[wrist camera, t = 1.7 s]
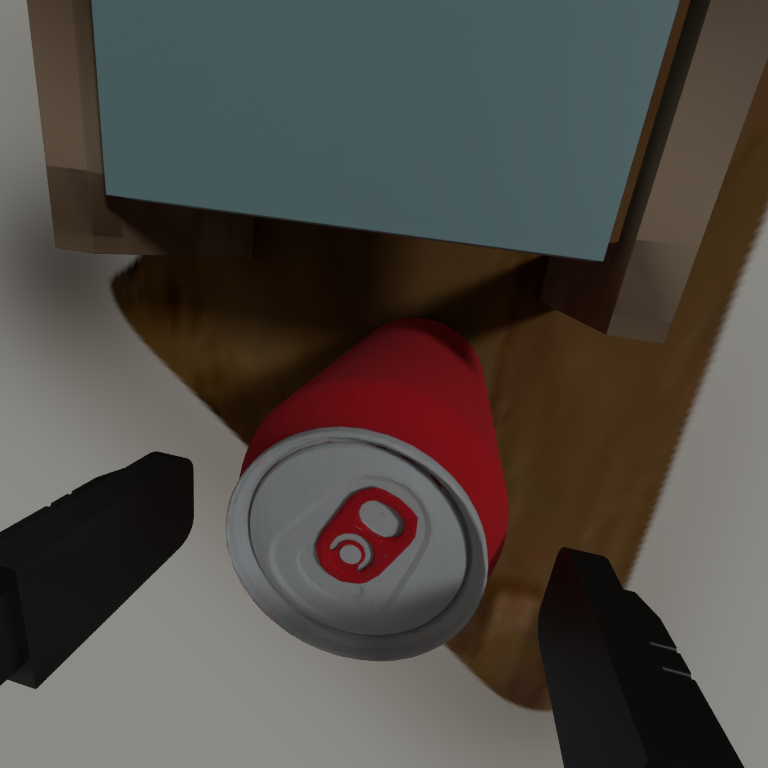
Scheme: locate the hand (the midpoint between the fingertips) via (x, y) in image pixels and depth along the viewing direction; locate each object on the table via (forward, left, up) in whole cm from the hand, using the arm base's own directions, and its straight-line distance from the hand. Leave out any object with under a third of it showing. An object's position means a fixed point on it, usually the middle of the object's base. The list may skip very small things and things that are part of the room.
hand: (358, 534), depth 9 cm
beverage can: (0, 0, -11) cm, 11 cm away
